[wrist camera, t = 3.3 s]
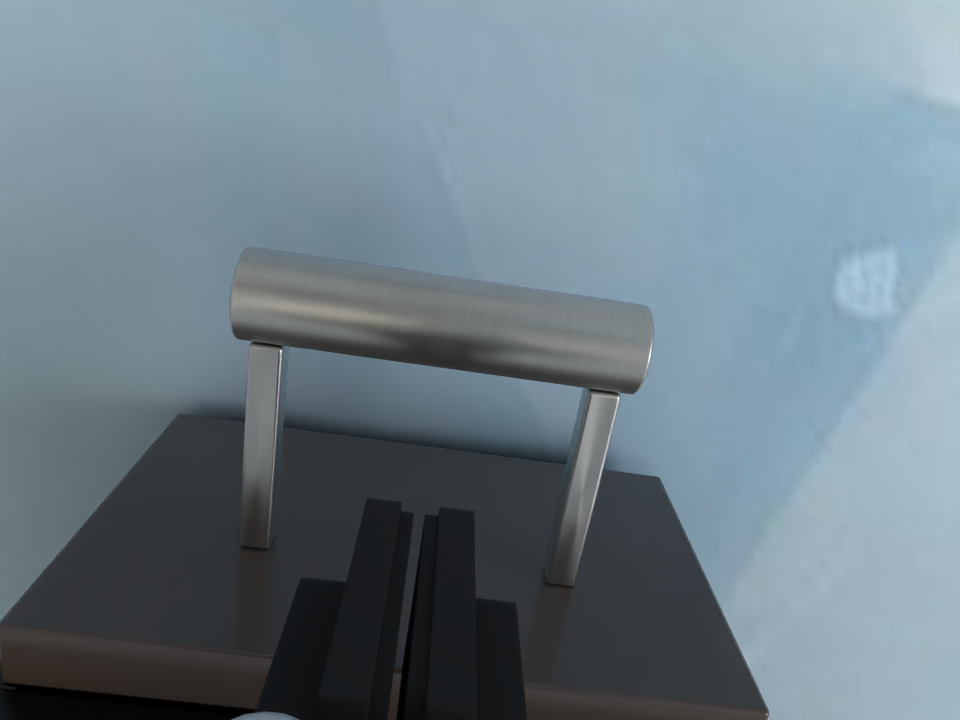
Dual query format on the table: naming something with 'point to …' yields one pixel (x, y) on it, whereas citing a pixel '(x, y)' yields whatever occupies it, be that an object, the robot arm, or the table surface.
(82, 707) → the drawer box
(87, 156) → the table surface
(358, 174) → the table surface
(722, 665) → the grey drawer
